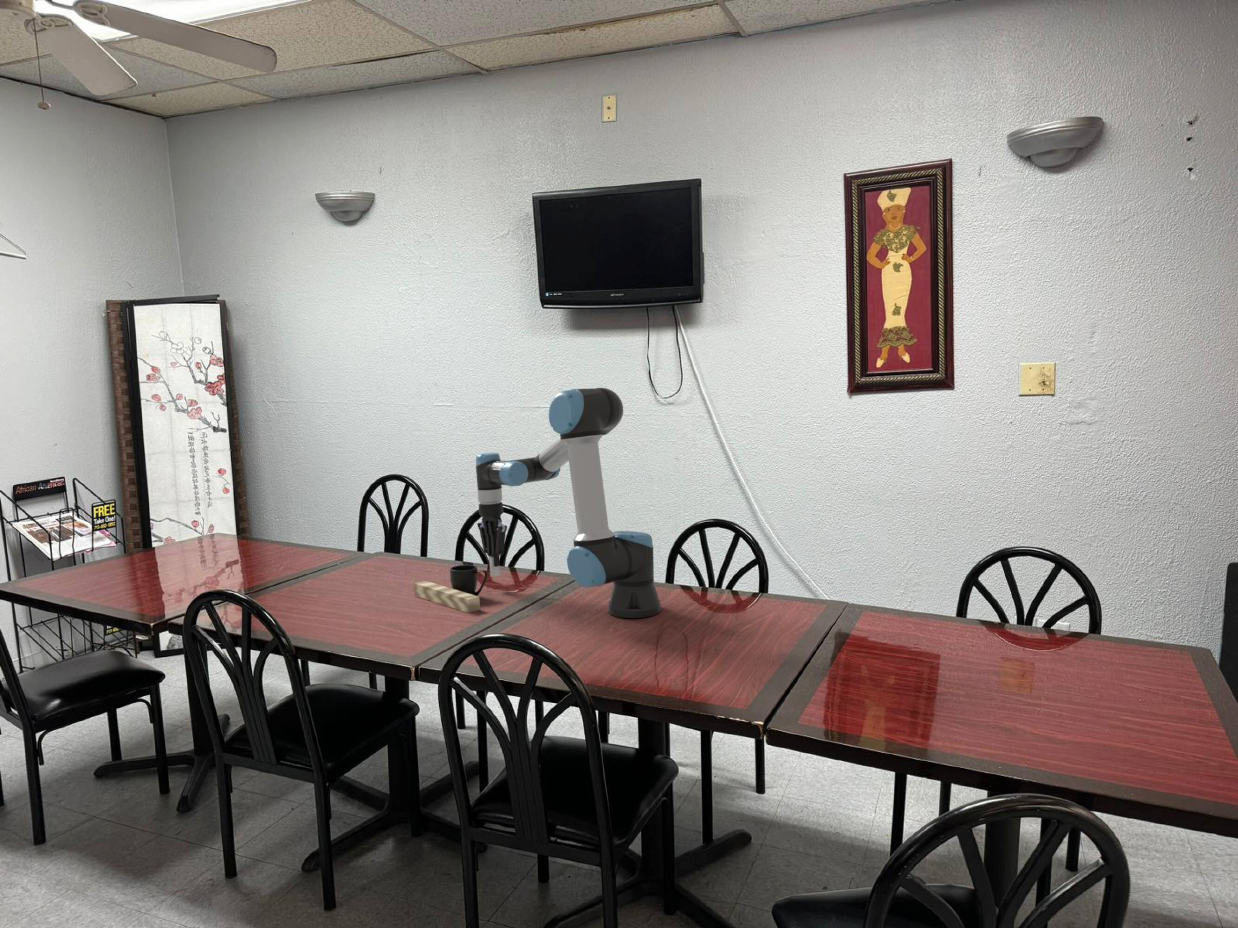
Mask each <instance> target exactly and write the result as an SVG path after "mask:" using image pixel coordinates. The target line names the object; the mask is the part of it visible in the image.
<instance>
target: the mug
mask: <svg viewBox="0 0 1238 928" xmlns="http://www.w3.org/2000/svg"><path fill="white" fill-rule="evenodd" d="M479 573H483V574H484V578H483V580H482V583H481V585H480V587H479V588H478V590H477V586H478V585H477V584H478V574H479ZM449 575H450V576H449V577H450V584H451V588H452V589H455V590H458V591H462V592H465V593H469V594H472V595H475V596H479V595H480V593H481V592H482V590H483V588H484V586H485V584H486V582H487V580H488V578H489V571H487V570H486V569H480V570H479V569H478V566H476V565H474V564H473V565H472V564H461V565H460V564H459V565H455V566H452V567H450V568H449ZM476 590H477V591H476Z"/></svg>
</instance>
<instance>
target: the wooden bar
mask: <svg viewBox="0 0 1238 928" xmlns="http://www.w3.org/2000/svg"><path fill="white" fill-rule="evenodd" d="M413 587H414V588H413V589H414V591H413V592H414V596H415V597H419V598H422V599H423V600H427V601H431V602H433V603H436V604H440V605H443V606H446V607H449V608H452V609H454V610H458V611H461V612H464V613H468V614H470V613H474V612H478V611H481V604H480V603H481V601H480V596H479V595H478V596H475V595H472V594H469V593H465V592H462V591H458V590H455V589H453V588H452V587H448V586H443V585H440V584H438V583H434V582H431V581H427V580H421V581H418V582H413Z"/></svg>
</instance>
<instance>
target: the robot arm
mask: <svg viewBox="0 0 1238 928" xmlns="http://www.w3.org/2000/svg"><path fill="white" fill-rule="evenodd" d="M549 405H550V406H549V409H548V422H549V425H550V426H551V428H552V430H553V432H555V433H556V434H559V436H558V437H557V438H556V439H555V440H553V442H552V443H550V444H549V445H548V446H547V447H545V448H544V449H543V450H542V451H541V452H540V453H539V454H537V455H536V456H534V457H527V458H519V459H512V460H502V459H501V456H500V454H499V453H498V452H485V453H478V454H477V455H476V456H475V473H476V485H477V501H478V502H479V504H478V515H479V516H480V517H481V521H480V522H478V523H477V528H478V530H479V533H480V539H481V543H482V545H481V546H482V551H483V553H484V554H487V556H488V564H489V565H488V566H489V575H490V578H497V577H499V576H501V570H500V569H501V565H500V564H501V561H500V560H501V559H500V556H502V555H504V552H505V542H506V532H507V529H508V526H507V525H506V524H505V525H504V524H503V521H502V514H504V506H503V505H504V504H503V502H502V501H503V491H502V490H503V489H502V486H508V487H520V486H522V485H524V484H527V483H533V482H541V481H549V480H552V479H555V478H557V477H558V476H559V474H560V472H561V469H562V467H563V466H564V465H565V464H567V463H568V465H569V472H570V473H569V474H570V480H571V489H572V495H573V504H574V505H573V506H574V514H575V521H576V527H577V529H576V530H577V533H576V535H575V536H574V537H573V539H572V541H573V547H572V548H571V549H570V550H569V551H568V554H567V557H566V563H567V564H566V565H567V569H568V572H569V574H570V576H571V577H572V579H573V580H574V581H575V582H576V583H577V584H578V585H579V586H581V587H583V588H587V589H589V588H595V587H602V586H604V585H606V584H611V583H613V587H612V591H611V595H610V600H609V601H608V604H607V605H608V606H607V607H608V614H610V615H611V616H614V617H617V618H622V619H624V618H625V619H639V618H640V619H641V618H648V617H649V618H650V617H652V616H655V615H657V614H660V612H661V611H662V607H661V605H662V604H661V600H660V598H659V596H658V592H657V589H656V586H655V571H654V565H655V563H654V549H655V548H654V545H653V537H652V536H651V535H650V534H649V533H646V532H642V531H631V530H617V531H615V530H614V531H612V530H611V529H610V528H609V519H608V511H607V504H606V496H605V489H604V488H605V487H604V480H603V472H602V471H603V470H602V464H601V456H600V447H599V443H600V442H599V441H600V440H601V438H602V437H603V436H606V435H608V434H609V433H610V432H611V431H612V430H614V429H615V428H616V427H617V426H618V425H619V424H620V422H621V421H622V418H623V415H624V405H623V402H622V400H621V398H620V396H619V395H618V394H617V393H616V392H615V391H613V390H611V389H610V388H606V387H596V388H595V387H594V388H571V389H568V390H567V389H566V390H561V391H560V392H558V393H557V394H556V395H554V397H553V400H552V401H551V402H550V404H549Z"/></svg>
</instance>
